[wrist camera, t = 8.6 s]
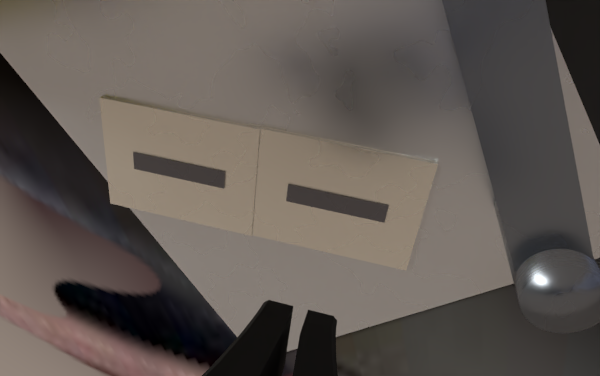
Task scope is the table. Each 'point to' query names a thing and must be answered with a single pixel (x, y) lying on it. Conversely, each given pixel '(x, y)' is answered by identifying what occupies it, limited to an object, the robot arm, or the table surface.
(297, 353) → the robot arm
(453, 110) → the tray
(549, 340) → the table surface
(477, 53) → the cable arm
